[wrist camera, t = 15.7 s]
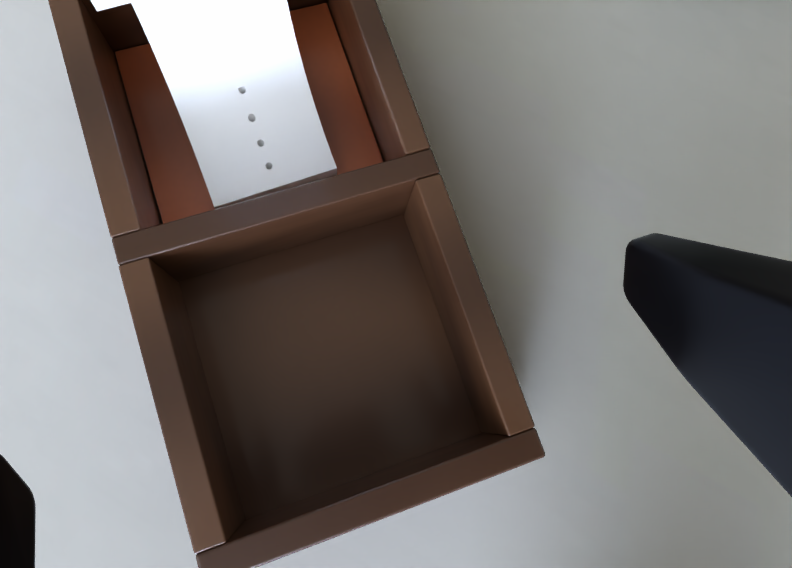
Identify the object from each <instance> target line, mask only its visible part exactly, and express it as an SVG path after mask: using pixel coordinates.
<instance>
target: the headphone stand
mask: <svg viewBox="0 0 792 568" xmlns="http://www.w3.org/2000/svg"><path fill="white" fill-rule="evenodd" d="M91 2H92V4H93V5H94V7H95V9H96V10H97V11H101V10H105V9H108V8H112V7H116V6H120V5H124V4H128V3H132V6H133V8H134V10H135V12H136V14H137V16H138V18H139V21H140V23H141V25H142V27H143V30H144V32H145V34H146V36H147V38H148V41H149V43H150V45H151V48H152V50H153V52H154V54H155V57H156V59H157V61H158V64H159V66H160V68H161V71H162V73H163V75H164V78H165V80H166V83H167V85H168V87H169V90H170V92H171V95H172V97H173V100H174V102H175V105H176V107H177V109H178V112H179V115H180V117H181V120H182V122H183V125H184V127H185V130H186V132H187V135H188V137H189V140H190V143H191V145H192V148H193V150H194V153H195V156H196V158H197V161H198V164H199V166H200V169H201V172H202V174H203V177H204V180H205V183H206V186H207V188H208V191H209V194H210V197H211V200H212V202H213V205H214V208H215V209H218V208H221V207H225V206H228V205H232V204H235V203H239V202H243V201H246V200H250V199H253V198H257V197H260V196H264V195H267V194H271V193H275V192H278V191H282V190H285V189H289V188H292V187H296V186H300V185H303V184H307V183H310V182H314V181H317V180H321V179H325V178H328V177H332V176H335V175H337V167H336V164H335V162H334V159H333V156H332V154H331V151H330V148H329V145H328V142H327V140H326V137H325V134H324V131H323V128H322V125H321V122H320V119H319V116H318V113H317V110H316V107H315V104H314V101H313V97H312V94H311V91H310V88H309V84H308V81H307V77H306V74H305V70H304V67H303V63H302V60H301V56H300V52H299V48H298V45H297V41H296V37H295V33H294V29H293V25H292V21H291V16H290V12H289V7H288V3H287V0H91Z"/></svg>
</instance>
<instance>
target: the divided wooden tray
mask: <svg viewBox="0 0 792 568" xmlns="http://www.w3.org/2000/svg"><path fill="white" fill-rule="evenodd" d="M48 1H49V5H50V9H51V12H52V16H53V20H54V24H55V28H56V31H57V35H58V39H59V43H60V47H61V50H62V54H63V58H64V62H65V65H66V69H67V73H68V77H69V81H70V84H71V88H72V92H73V96H74V100H75V103H76V107H77V111H78V115H79V119H80V122H81V126H82V130H83V134H84V137H85V141H86V145H87V149H88V153H89V156H90V160H91V164H92V168H93V172H94V175H95V179H96V183H97V187H98V191H99V194H100V198H101V202H102V206H103V209H104V213H105V217H106V221H107V225H108V228H109V232H110V236H111V237H112V242H113V246H114V250H115V254H116V257H117V261H118V264H119V265H120V266H119V270H120V274H121V277H122V281H123V285H124V289H125V293H126V296H127V300H128V304H129V308H130V312H131V315H132V319H133V323H134V327H135V330H136V334H137V338H138V342H139V346H140V349H141V353H142V357H143V361H144V365H145V368H146V372H147V376H148V380H149V384H150V387H151V391H152V395H153V399H154V402H155V406H156V410H157V414H158V418H159V421H160V425H161V429H162V433H163V437H164V440H165V444H166V448H167V452H168V456H169V459H170V463H171V467H172V471H173V474H174V478H175V482H176V486H177V490H178V493H179V497H180V501H181V505H182V509H183V512H184V516H185V520H186V524H187V527H188V531H189V535H190V539H191V543H192V546H193V550H194V553H195V554H197V555H196V560H197V564H198V568H256V567H259V566H261V565H264V564H267V563H269V562H272V561H274V560H277V559H280V558H282V557H285V556H287V555H290V554H293V553H295V552H298V551H300V550H303V549H306V548H308V547H311V546H313V545H316V544H319V543H321V542H324V541H326V540H329V539H332V538H334V537H337V536H340V535H342V534H345V533H347V532H350V531H353V530H355V529H358V528H360V527H363V526H366V525H368V524H371V523H373V522H376V521H379V520H381V519H384V518H386V517H389V516H392V515H394V514H397V513H399V512H402V511H405V510H407V509H410V508H412V507H415V506H418V505H420V504H423V503H426V502H428V501H431V500H433V499H436V498H439V497H441V496H444V495H446V494H449V493H452V492H454V491H457V490H459V489H462V488H465V487H467V486H470V485H472V484H475V483H478V482H480V481H483V480H485V479H488V478H491V477H493V476H496V475H498V474H501V473H504V472H506V471H509V470H511V469H514V468H517V467H519V466H522V465H525V464H527V463H530V462H532V461H535V460H538V459H540V458H543V457H544V456H545V452H544V449H543V447H542V444H541V441H540V439H539V436H538V433H537V431H536V429H535V428H533V427H534V422H533V419H532V417H531V414H530V411H529V409H528V406H527V403H526V401H525V398H524V395H523V393H522V390H521V387H520V385H519V382H518V379H517V377H516V374H515V371H514V369H513V366H512V363H511V361H510V358H509V355H508V353H507V350H506V347H505V345H504V342H503V339H502V337H501V334H500V331H499V329H498V326H497V323H496V321H495V318H494V315H493V313H492V310H491V307H490V305H489V302H488V299H487V297H486V294H485V291H484V289H483V286H482V283H481V281H480V278H479V275H478V273H477V270H476V267H475V265H474V262H473V259H472V256H471V254H470V251H469V248H468V246H467V243H466V240H465V238H464V235H463V232H462V230H461V227H460V224H459V222H458V219H457V216H456V214H455V211H454V208H453V206H452V203H451V200H450V198H449V195H448V192H447V190H446V187H445V184H444V182H443V179H442V176H441V175H440V174H439V168H438V166H437V163H436V160H435V158H434V155H433V152H432V150H431V149H430V145H429V142H428V139H427V137H426V134H425V131H424V129H423V126H422V123H421V121H420V118H419V115H418V113H417V110H416V107H415V104H414V102H413V99H412V96H411V94H410V91H409V88H408V86H407V83H406V80H405V78H404V75H403V72H402V70H401V67H400V64H399V62H398V59H397V56H396V54H395V51H394V48H393V46H392V43H391V40H390V38H389V35H388V32H387V30H386V27H385V24H384V22H383V19H382V16H381V14H380V11H379V8H378V6H377V3H376V0H287V3H288V7H289V12H290V16H291V21H292V25H293V29H294V33H295V37H296V41H297V45H298V48H299V52H300V56H301V60H302V63H303V67H304V70H305V74H306V77H307V81H308V84H309V88H310V91H311V94H312V97H313V101H314V104H315V107H316V110H317V113H318V116H319V119H320V122H321V125H322V128H323V131H324V134H325V137H326V140H327V142H328V145H329V148H330V151H331V154H332V156H333V159H334V162H335V164H336V167H337V175H335V176H332V177H328V178H325V179H321V180H317V181H314V182H310V183H307V184H303V185H300V186H296V187H292V188H289V189H285V190H282V191H278V192H275V193H271V194H267V195H264V196H260V197H257V198H253V199H250V200H246V201H243V202H239V203H235V204H232V205H228V206H225V207H221V208H218V209H215V208H214V205H213V202H212V200H211V197H210V194H209V191H208V188H207V186H206V183H205V180H204V177H203V174H202V172H201V169H200V166H199V164H198V161H197V158H196V156H195V153H194V150H193V148H192V145H191V143H190V140H189V137H188V135H187V132H186V130H185V127H184V125H183V122H182V120H181V117H180V115H179V112H178V109H177V107H176V105H175V102H174V100H173V97H172V95H171V92H170V90H169V87H168V85H167V83H166V80H165V78H164V75H163V73H162V71H161V68H160V66H159V64H158V61H157V59H156V57H155V54H154V52H153V50H152V48H151V45H150V43H149V41H148V38H147V36H146V34H145V32H144V30H143V27H142V25H141V23H140V21H139V18H138V16H137V14H136V12H135V10H134V8H133V6H132V3H128V4H124V5H120V6H116V7H112V8H108V9H105V10H101V11H97V10H96V9H95V7H94V5H93V4H92V2H91V0H48Z"/></svg>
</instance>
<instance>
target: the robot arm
mask: <svg viewBox="0 0 792 568" xmlns="http://www.w3.org/2000/svg"><path fill="white" fill-rule="evenodd" d="M623 287H624V292H625V296H626V298H627V300H628V301H629V303H630V304H631V306H632V307H633V308H634V310H635V311H636V312H637V314H638V315H639V317H640V318H641V319H642V321H643V322H644V323H645V325H646V326H647V328H648V329H649V330H650V332H651V333H652V335H653V336H654V337H655V339H656V340H657V341H658V343H659V344H660V346H661V347H662V348H663V350H664V351H665V352H666V354H667V355H668V357H669V358H670V359H671V361H672V362H673V363H674V365H675V366H676V367H677V369H678V370H679V371H680V372H681V374H682V375H683V376H684V377H685V379H686V380H687V381H688V382H689V383H690V384H691V386H692V387H693V388H694V389H695V390H696V391H697V392H698V394H699V395H700V396H701V397H702V398H703V399H704V400H705V401H706V402H707V404H708V405H709V406H710V407H711V408H712V409H713V410H714V411H715V412H716V413H717V415H718V416H719V417H720V418H721V419H722V420H723V421H724V422H725V423H726V425H727V426H728V427H729V428H730V429H731V430H732V431H733V432H734V433H735V435H736V436H737V437H738V438H739V439H740V440H741V441H742V442H743V443H744V445H745V446H746V447H747V448H748V449H749V450H750V451H751V452H752V453H753V454H754V456H755V457H756V458H757V459H758V460H759V461H760V462H761V463H762V464H763V466H764V467H765V468H766V469H767V470H768V471H769V472H770V473H771V474H772V476H773V477H774V478H775V479H776V480H777V481H778V482H779V483H780V484H781V486H782V487H783V488H784V489H785V490H786V491H787V492H788V493H789V494H790V496H791V497H792V262H791V261H787V260H782V259H777V258H772V257H768V256H763V255H758V254H753V253H749V252H744V251H739V250H734V249H730V248H725V247H720V246H715V245H711V244H706V243H701V242H696V241H692V240H687V239H682V238H677V237H673V236H668V235H663V234H658V233H653V234H649V235H646V236H643V237H640V238H637V239H634V240H632V241H631V242H629V244H628V245H627V247H626V255H625V268H624V281H623ZM0 568H35V500H34V497H33V494H32V492H31V490H30V488H29V487H28V486H27V484H26V483H25V482H24V481H23V480H22V478H21V477H20V476H19V475H18V474H17V473H16V471H15V470H14V469H13V468H12V467H11V465H10V464H9V463H8V462H7V461H6V459H5V458H4V457H3V456H2V455H1V454H0Z"/></svg>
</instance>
